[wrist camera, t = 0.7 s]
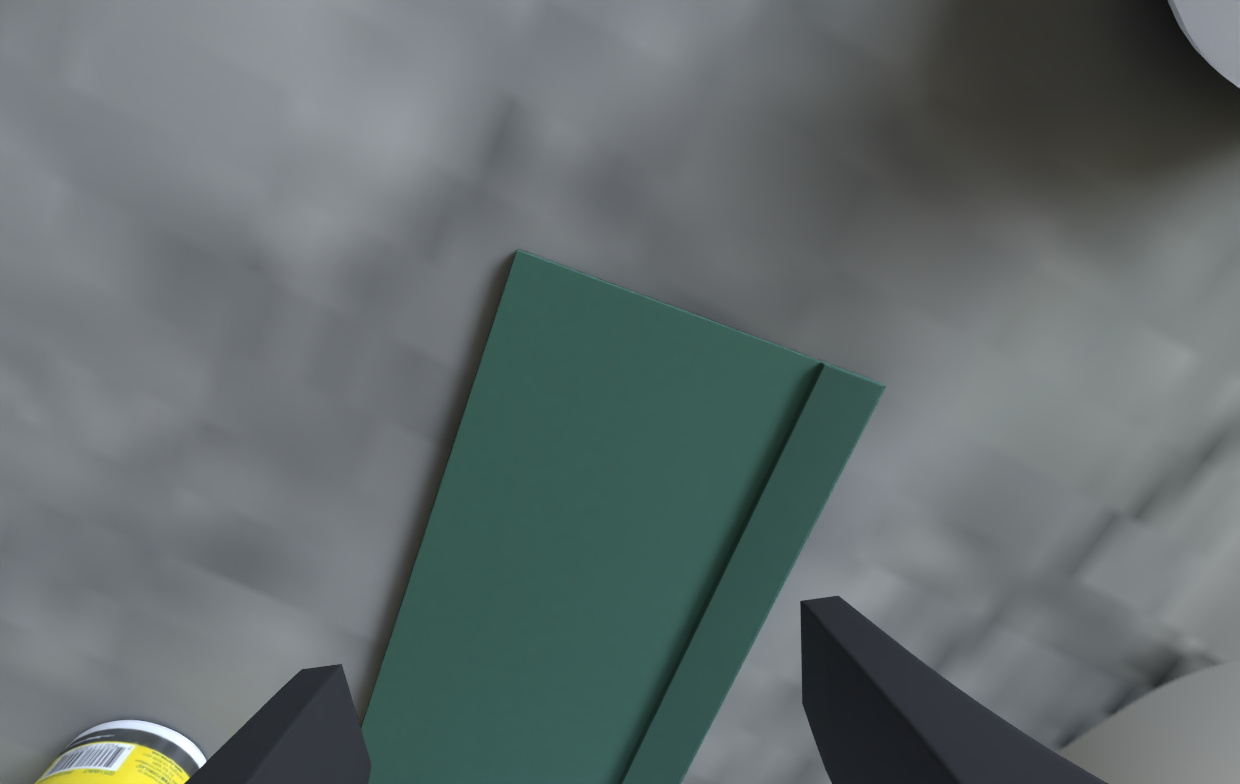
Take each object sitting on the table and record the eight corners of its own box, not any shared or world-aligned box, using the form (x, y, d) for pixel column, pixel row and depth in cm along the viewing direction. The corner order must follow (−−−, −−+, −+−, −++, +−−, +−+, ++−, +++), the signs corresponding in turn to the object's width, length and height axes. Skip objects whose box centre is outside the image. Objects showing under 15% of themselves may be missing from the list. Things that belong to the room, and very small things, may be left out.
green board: (642, 849, 25) (643, 865, 24) (341, 787, 23) (336, 803, 22) (882, 383, 20) (891, 389, 19) (517, 248, 18) (515, 250, 17)
